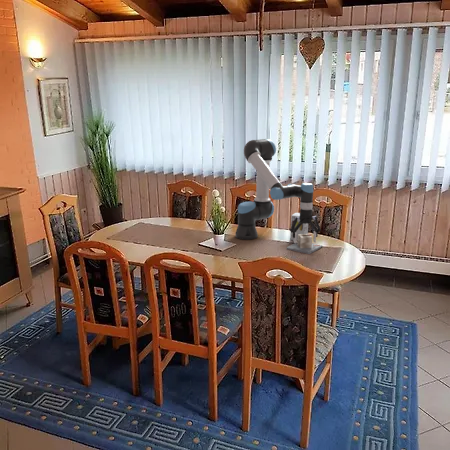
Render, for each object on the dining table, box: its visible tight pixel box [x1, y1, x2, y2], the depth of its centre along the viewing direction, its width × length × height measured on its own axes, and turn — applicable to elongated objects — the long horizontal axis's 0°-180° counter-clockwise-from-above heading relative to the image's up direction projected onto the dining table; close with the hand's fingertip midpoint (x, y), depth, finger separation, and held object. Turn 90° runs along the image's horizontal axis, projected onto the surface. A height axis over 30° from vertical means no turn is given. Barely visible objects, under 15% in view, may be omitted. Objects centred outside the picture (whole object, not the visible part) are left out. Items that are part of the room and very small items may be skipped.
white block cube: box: [297, 233, 313, 248], centre depth 288 cm, size 7×7×7 cm
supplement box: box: [289, 212, 309, 242], centre depth 307 cm, size 10×9×17 cm
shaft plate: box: [286, 241, 323, 255], centre depth 289 cm, size 16×17×6 cm
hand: (304, 242), depth 289 cm, fingers open, 12 cm apart
